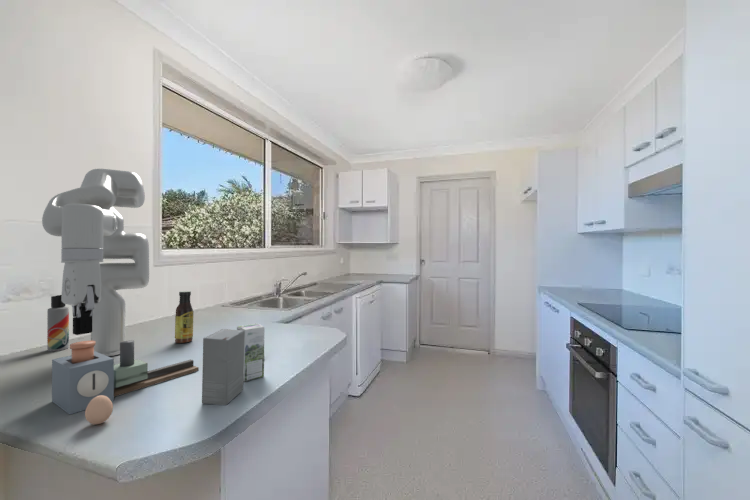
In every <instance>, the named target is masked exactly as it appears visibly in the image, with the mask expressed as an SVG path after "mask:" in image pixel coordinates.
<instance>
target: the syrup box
mask: <svg viewBox="0 0 750 500" xmlns="http://www.w3.org/2000/svg"><path fill="white" fill-rule="evenodd" d="M236 330H244V331H245V336H244V370H243V383H244V382H249V381H252V380H256V379H260V378H264V376H265V326H263V325H262V324H260V323H251V324H245V325H238V326H236Z"/></svg>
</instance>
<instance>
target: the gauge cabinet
mask: <svg viewBox="0 0 750 500" xmlns="http://www.w3.org/2000/svg"><path fill="white" fill-rule="evenodd" d="M114 363H115V360H114V358H113V357H112V356H109V357H108V356H106V355H103V354H101V353H98V352H96V351H94V359H93V360H89V361H84V362H80V363H75V364H72V354H71V355H68V356H63V357H56V358H52V359H51V402H52V403H53V404H55V405H56V406H57V407H59V408H60V409H61V410H63V411H64V412H65V413H67V414H68V415H73V414H76V413H80V412H82V411H86V408H87V406H88V404H89V402H90V401H91V400H92V399H93V398H95V397H97V396H99V395H104V396H107V397H108V398H109V399H110V400H111V402H114V401H115V398H114V365H115V364H114Z"/></svg>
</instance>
